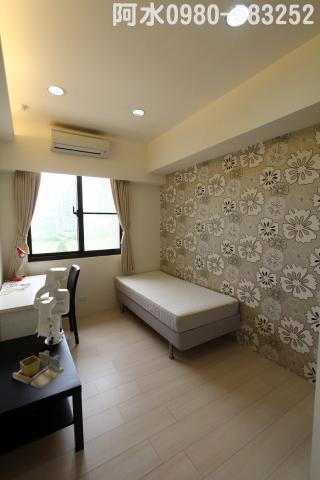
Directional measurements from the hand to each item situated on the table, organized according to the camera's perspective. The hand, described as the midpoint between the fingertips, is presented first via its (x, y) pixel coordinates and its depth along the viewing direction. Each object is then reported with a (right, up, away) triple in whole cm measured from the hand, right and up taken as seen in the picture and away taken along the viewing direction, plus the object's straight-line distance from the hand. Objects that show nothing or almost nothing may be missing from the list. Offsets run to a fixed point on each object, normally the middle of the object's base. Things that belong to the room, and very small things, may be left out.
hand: (45, 343), depth 150 cm
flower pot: (-5, -15, -10) cm, 19 cm away
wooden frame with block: (-3, -15, -6) cm, 16 cm away
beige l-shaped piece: (+8, -15, -12) cm, 21 cm away
